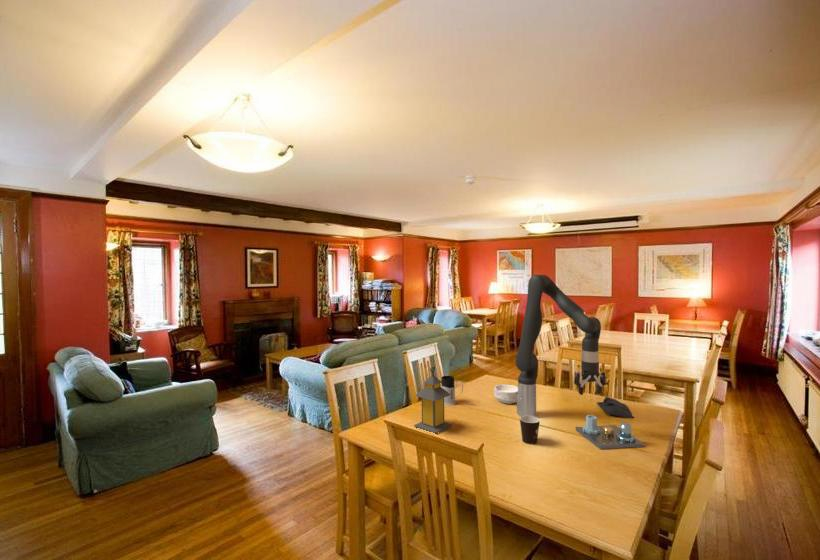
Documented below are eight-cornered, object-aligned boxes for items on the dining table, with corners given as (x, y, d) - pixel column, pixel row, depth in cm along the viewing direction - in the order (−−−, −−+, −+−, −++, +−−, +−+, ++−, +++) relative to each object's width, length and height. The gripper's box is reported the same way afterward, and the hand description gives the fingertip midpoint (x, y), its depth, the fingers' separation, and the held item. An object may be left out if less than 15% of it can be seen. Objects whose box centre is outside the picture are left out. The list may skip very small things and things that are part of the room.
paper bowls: (524, 405, 219) (523, 391, 218) (497, 405, 219) (497, 392, 219) (516, 396, 234) (516, 384, 234) (491, 397, 234) (491, 384, 234)
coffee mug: (529, 447, 167) (529, 424, 167) (515, 439, 175) (515, 417, 175) (548, 441, 173) (548, 419, 173) (534, 434, 180) (534, 413, 180)
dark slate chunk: (603, 417, 201) (603, 408, 201) (596, 403, 222) (596, 395, 222) (636, 420, 197) (636, 410, 197) (625, 405, 218) (625, 397, 218)
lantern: (453, 426, 191) (452, 366, 191) (435, 435, 181) (434, 371, 180) (431, 419, 201) (430, 361, 200) (413, 427, 191) (412, 367, 190)
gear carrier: (600, 449, 164) (600, 430, 164) (575, 430, 184) (575, 413, 184) (644, 446, 166) (644, 428, 166) (615, 428, 186) (615, 411, 186)
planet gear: (588, 434, 175) (588, 420, 175) (579, 427, 183) (579, 414, 183) (604, 433, 176) (604, 419, 176) (594, 427, 184) (594, 413, 184)
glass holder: (445, 399, 231) (445, 374, 231) (466, 403, 223) (466, 378, 222) (437, 403, 224) (437, 378, 223) (459, 408, 216) (459, 381, 215)
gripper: (579, 362, 176) (579, 397, 176) (609, 361, 177) (609, 396, 178) (571, 358, 183) (571, 392, 184) (599, 357, 185) (599, 391, 185)
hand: (589, 394), depth 181 cm, fingers open, 8 cm apart
